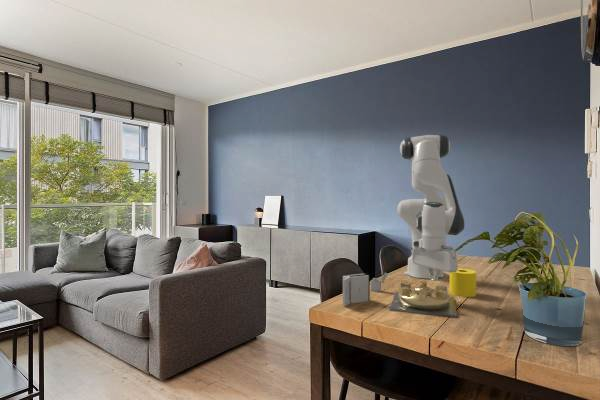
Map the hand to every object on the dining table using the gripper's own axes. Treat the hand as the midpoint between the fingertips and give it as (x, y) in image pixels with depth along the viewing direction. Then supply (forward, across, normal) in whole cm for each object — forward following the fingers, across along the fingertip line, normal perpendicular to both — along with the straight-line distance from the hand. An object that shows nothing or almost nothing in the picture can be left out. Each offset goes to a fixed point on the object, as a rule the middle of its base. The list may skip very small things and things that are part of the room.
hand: (433, 279), depth 134 cm
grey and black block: (+9, +11, +29) cm, 32 cm away
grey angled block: (+8, +20, +10) cm, 24 cm away
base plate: (+8, -2, +7) cm, 11 cm away
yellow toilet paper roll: (+8, +3, -19) cm, 21 cm away
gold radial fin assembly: (+7, -2, +7) cm, 10 cm away
